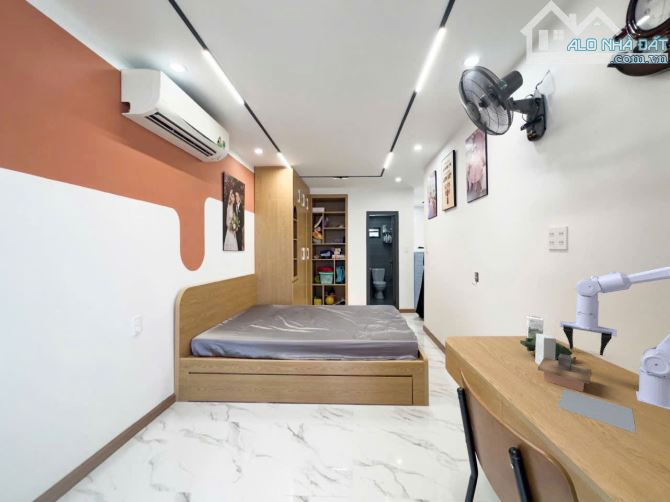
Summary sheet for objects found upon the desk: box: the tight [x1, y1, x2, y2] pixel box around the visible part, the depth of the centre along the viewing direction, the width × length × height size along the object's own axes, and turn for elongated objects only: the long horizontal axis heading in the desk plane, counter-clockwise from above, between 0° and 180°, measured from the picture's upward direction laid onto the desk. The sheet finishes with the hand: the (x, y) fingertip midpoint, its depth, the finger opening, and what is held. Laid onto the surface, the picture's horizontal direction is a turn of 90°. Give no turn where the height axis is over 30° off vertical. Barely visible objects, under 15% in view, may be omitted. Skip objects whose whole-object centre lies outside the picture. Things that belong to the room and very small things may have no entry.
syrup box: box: [526, 315, 544, 338], centre depth 128 cm, size 6×6×14 cm
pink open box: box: [543, 372, 586, 393], centre depth 93 cm, size 10×10×4 cm
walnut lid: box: [537, 354, 592, 385], centre depth 93 cm, size 13×13×5 cm
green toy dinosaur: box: [519, 333, 577, 364], centre depth 114 cm, size 12×18×12 cm
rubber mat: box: [557, 388, 637, 434], centre depth 77 cm, size 15×15×1 cm
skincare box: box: [534, 333, 557, 366], centre depth 106 cm, size 6×4×12 cm
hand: (585, 351), depth 94 cm, fingers open, 7 cm apart
